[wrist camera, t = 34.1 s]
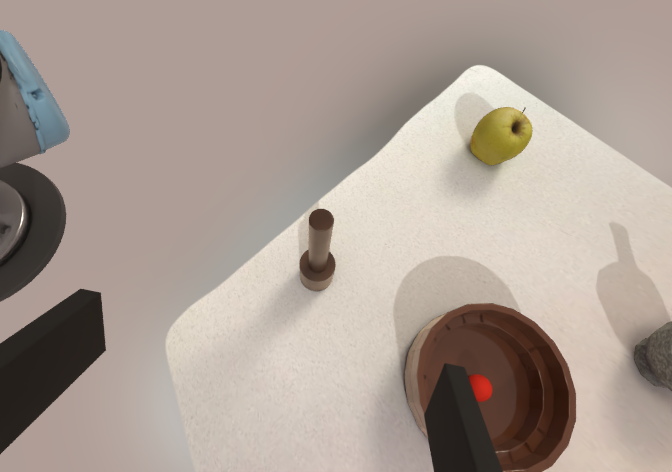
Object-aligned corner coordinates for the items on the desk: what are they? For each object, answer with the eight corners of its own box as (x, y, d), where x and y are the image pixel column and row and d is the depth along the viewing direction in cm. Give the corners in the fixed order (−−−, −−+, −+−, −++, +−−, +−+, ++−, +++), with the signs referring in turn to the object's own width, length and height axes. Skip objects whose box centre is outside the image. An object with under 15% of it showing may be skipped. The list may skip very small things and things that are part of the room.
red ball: (491, 407, 39) (470, 407, 41) (501, 390, 41) (480, 391, 43) (476, 383, 39) (455, 385, 42) (486, 367, 41) (466, 370, 44)
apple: (458, 124, 58) (506, 82, 49) (496, 140, 60) (548, 103, 51) (458, 164, 55) (509, 127, 46) (498, 180, 57) (554, 147, 48)
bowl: (374, 372, 43) (384, 371, 38) (468, 286, 48) (489, 274, 43) (478, 503, 39) (506, 524, 33) (569, 393, 44) (607, 395, 38)
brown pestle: (293, 277, 47) (286, 223, 30) (313, 253, 48) (317, 188, 32) (319, 297, 46) (325, 252, 30) (339, 272, 48) (356, 216, 31)
